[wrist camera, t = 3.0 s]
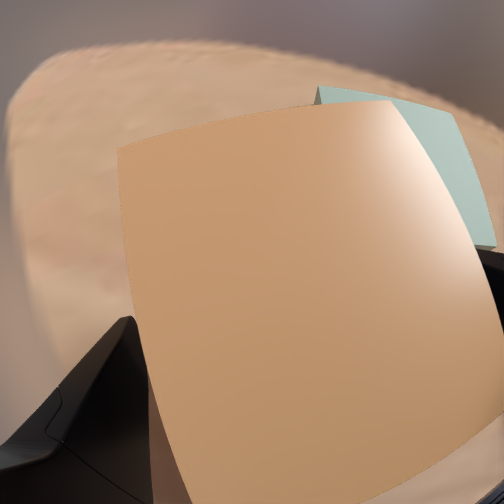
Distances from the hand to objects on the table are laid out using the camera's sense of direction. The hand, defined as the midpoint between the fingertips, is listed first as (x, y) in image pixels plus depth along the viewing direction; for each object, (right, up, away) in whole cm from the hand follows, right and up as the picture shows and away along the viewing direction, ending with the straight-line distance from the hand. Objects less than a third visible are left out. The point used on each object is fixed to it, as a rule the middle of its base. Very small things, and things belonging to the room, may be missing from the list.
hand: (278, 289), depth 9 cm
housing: (0, -3, +6) cm, 7 cm away
